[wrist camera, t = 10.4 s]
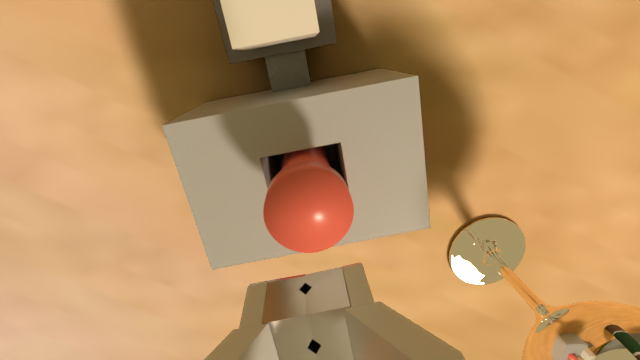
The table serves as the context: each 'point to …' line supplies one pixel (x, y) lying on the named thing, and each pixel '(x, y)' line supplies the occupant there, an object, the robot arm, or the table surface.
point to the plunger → (308, 203)
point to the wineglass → (551, 322)
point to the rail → (288, 70)
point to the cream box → (273, 26)
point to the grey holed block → (298, 134)
